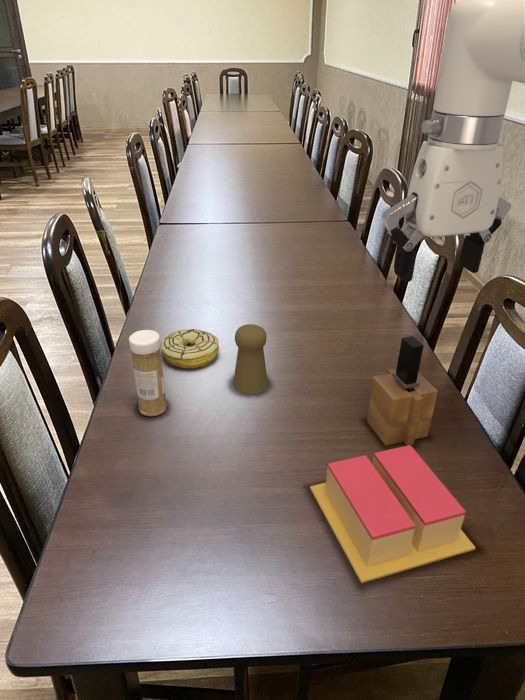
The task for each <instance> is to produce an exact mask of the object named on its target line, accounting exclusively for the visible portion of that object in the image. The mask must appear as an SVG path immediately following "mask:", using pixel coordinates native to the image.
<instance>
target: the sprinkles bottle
mask: <svg viewBox="0 0 525 700" xmlns="http://www.w3.org/2000/svg"><path fill="white" fill-rule="evenodd" d="M161 343H162V340H161V335H160V334H159V333H158V332H157V331H155V330H152V329H142V330H137V331H135V332H133V333H131V334H130V336H129V337H128V345H129V350H130V353H131V359H132V369H133V375H134V376H133V377H134V383H135V391H136V395H137V403H138V412H139V413H140V414H141V415H143V416H145V417H156V416H159V415H162V414H163V413H165V412H166V410H167V408H168V403H167V401H166V386H165V385H166V384H165V378H164V377H165V376H164V371H163V363H162V352H161Z"/></svg>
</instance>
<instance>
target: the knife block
mask: <svg viewBox="0 0 525 700" xmlns="http://www.w3.org/2000/svg"><path fill="white" fill-rule="evenodd" d="M393 372H396V369H395V368H390V369H387V373H386V374H380V375H375V376H373V377H372V383H371V389H370V396H369V403H368V410H367V417H366V423H367V424H368V425H369V426H370V428H371V429H372V430H373V432H374V433H375V434H376V436H377V437H378V438H379V440H380V441H381V442H382V443H383V445H384V446H391V445H395V444H400V443H404V444H405V446H408V445H411V446H414V445H415V441H416V440H418V439H423V438H428V437H429V432H430V427H431V425H432V418H433V414H434V409H435V406H436V405H435V404H436V400H437V396H438V389H437V388H435V386H433V385H432V384H431V383H430V382H429V381H428V380H427V379H426V378H425V377H424V376H423V375H422V374H421V373H420V372H418V377H417V380H418V381H419V382H420V385H419V386H417V387H412V388H411V392H408V391H407V390H406V389H404V387H403V386H402V385H401V384H400V383H399V382H398V381H397V380H396V379H395V378H394V377H393V376H392V373H393Z"/></svg>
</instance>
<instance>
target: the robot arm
mask: <svg viewBox="0 0 525 700" xmlns="http://www.w3.org/2000/svg"><path fill="white" fill-rule="evenodd" d="M513 82H516V83H521V84H523V85H525V0H457V1H456V2H455V3H454V4H453V5H452V7H451V9H450V10H449V13H448V18H447V23H446V28H445V33H444V39H443V46H442V52H441V57H440V64H439V69H438V75H437V82H436V88H435V93H434V99H433V106H432V110H431V115H430V119H425V120H423V121H422V122H421V123H422V124H421V132H422V134H427V140H424V141H423V142H422V143H421V147H420V149H419V151H418V154H417V158H416V161H415V164H414V166H413V170H412V174H411V178H410V183H409V186H408V191H407V196H406V198H404V199H402V200H401V201H399V202H397V203H396V204H394V205H393V206H391V207H390V208H388V209H386V210H385V211H383V212H382V213H381V218H382V221H383V225H384V227H385V232H386V234H387V235H388V236H389V238H390V239H391V240H392V242H393V243H394V244H395V245H396V248H395V249H396V250H395V256H394V261H393V262H394V263H393V273H394V274H395V275H396V276H397V277H398V278H400V279H401V280H402V281H404V282H406V283H409V282H411V281H412V280H413V276H414V272H415V265H416V259H417V254H418V252H417V251H416V250H415V249H414V248H415V247H416V246H417V245H418V243H420V241H421V240H422V239H423V238H424V237H428V238H440V237H449V236H458V235H459V236H461V235H465V236H464V238H463V243H462V247H461V252H460V256H459V260H458V265H459V266H460V267H462V268H463V269H465V270H467V271H468V272H470V273H472V274H477V273H478V272H479V270H480V266H481V262H482V257H483V253H484V251H485V250H484V249H485V246H486V243H489V242H491V240H492V235H493V234H494V233H495V232H496V231H497V230H498V229H499V228H500V227H501V225H502V223H503V221H502V220H504V219H505V217H506V216H507V215H508V213H509V211H510V210H511V208H512V205H511V202H508V201H507V200H505V199H504V198H502V197H501V196H500V193H501V188H502V187H501V186H502V182H503V181H502V180H503V172H504V156H505V154H504V151H505V150H504V144H502V143H500V142H499V140H500V138H501V133H502V127H503V124H504V121H505V114H506V112H507V106H508V103H509V98H510V93H511V89H512V85H513ZM402 218H404V219H403V221H404V225H403V226H402V227H401V228H400V223H399V222H400V220H401V219H402Z"/></svg>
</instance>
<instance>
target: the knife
mask: <svg viewBox="0 0 525 700" xmlns="http://www.w3.org/2000/svg"><path fill="white" fill-rule="evenodd" d="M424 347H425V345H423V343H422V342H420V341H419V339H417V338H416V337H415V336H414V335H410V336H404V337H401V339H400V347H399V350H398V351H399V353H398V357H397V364H396V369H395V370H396V372H393V373H392V376H393V377H394V378H395V379H396V380H397V381H398V382H399V383H400V384H401V385H402V386H403V387H404V389H406V390H407V391H408V392H411V388H412V387H417V386H419V385H420V382H419V381H418V380H417V377H418V372H419V371H420V367H421V360H422V356H423V350H424ZM419 373H420V372H419Z"/></svg>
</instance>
